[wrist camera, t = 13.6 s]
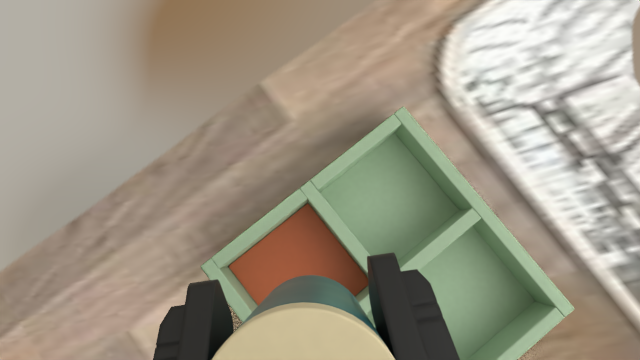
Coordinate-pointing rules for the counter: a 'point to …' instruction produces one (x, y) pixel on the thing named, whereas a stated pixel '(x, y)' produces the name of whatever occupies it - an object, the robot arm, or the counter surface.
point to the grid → (399, 243)
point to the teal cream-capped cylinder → (306, 326)
